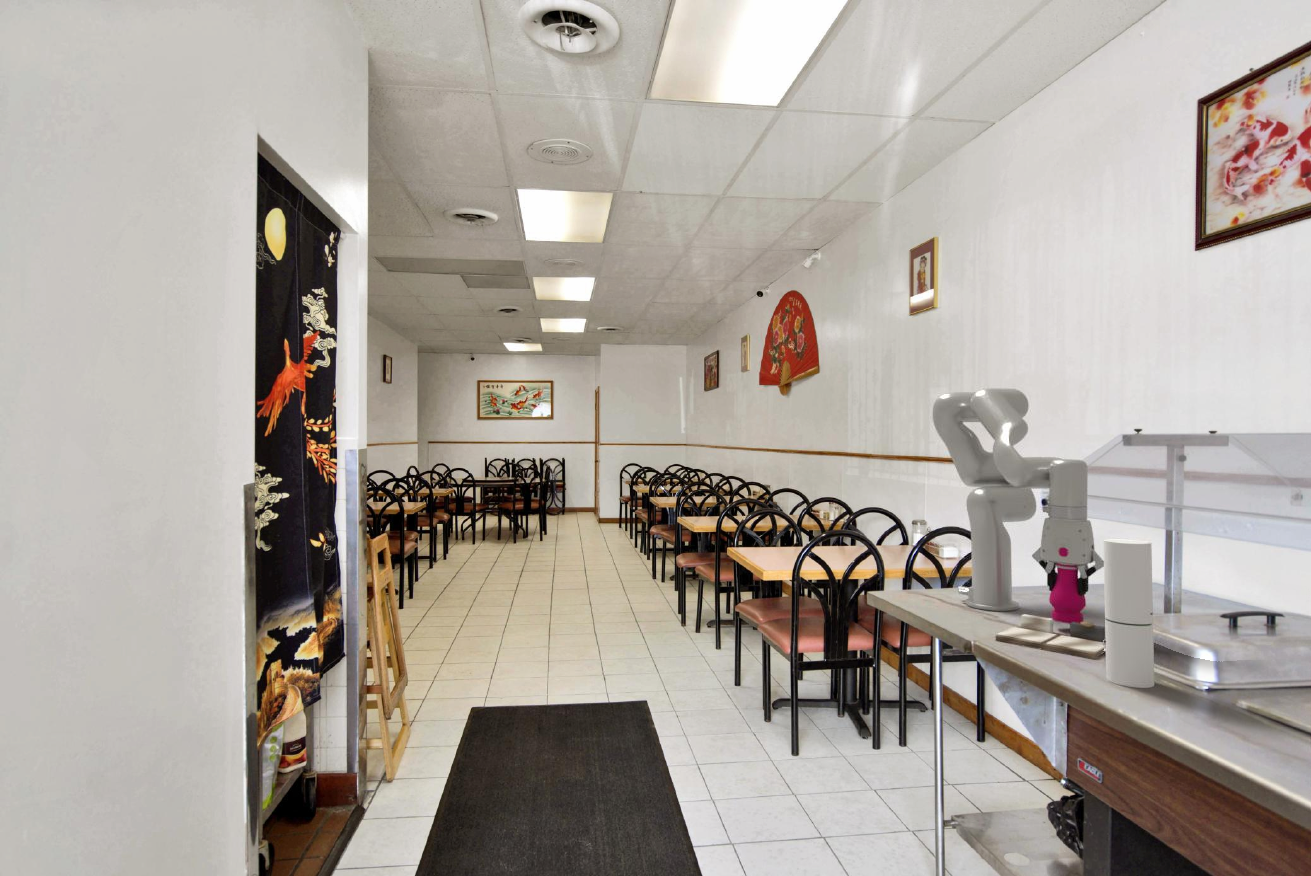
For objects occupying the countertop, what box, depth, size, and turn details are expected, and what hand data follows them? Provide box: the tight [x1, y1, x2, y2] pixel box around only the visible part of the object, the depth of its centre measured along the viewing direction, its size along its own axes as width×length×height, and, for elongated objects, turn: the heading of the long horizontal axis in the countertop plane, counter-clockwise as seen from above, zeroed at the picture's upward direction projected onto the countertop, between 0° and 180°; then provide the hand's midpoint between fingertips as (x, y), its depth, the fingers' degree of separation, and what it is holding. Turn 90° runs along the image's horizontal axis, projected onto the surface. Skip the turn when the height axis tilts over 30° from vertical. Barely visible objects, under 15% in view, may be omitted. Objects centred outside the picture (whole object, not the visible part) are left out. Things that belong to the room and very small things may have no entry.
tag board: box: [995, 613, 1105, 660], centre depth 149 cm, size 19×12×4 cm, turn 42°
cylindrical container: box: [1103, 538, 1155, 689], centre depth 125 cm, size 7×7×25 cm
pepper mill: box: [1048, 547, 1087, 624], centre depth 160 cm, size 7×7×20 cm
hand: (1067, 591), depth 160 cm, fingers closed on pepper mill, 5 cm apart
